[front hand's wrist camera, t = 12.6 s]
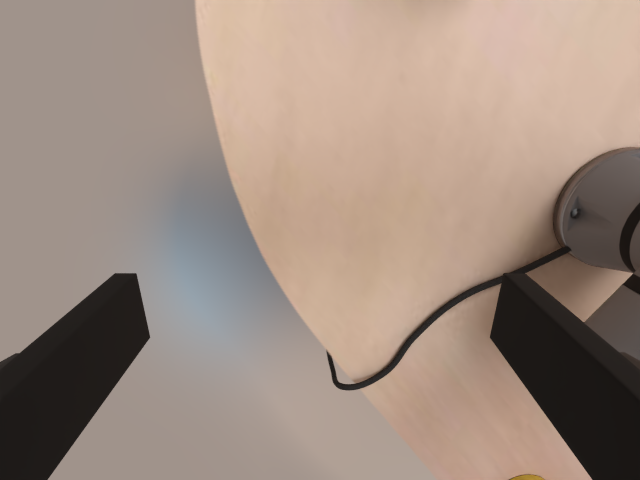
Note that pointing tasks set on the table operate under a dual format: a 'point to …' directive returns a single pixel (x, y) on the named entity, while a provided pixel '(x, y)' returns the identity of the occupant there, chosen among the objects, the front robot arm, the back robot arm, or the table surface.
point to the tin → (527, 477)
